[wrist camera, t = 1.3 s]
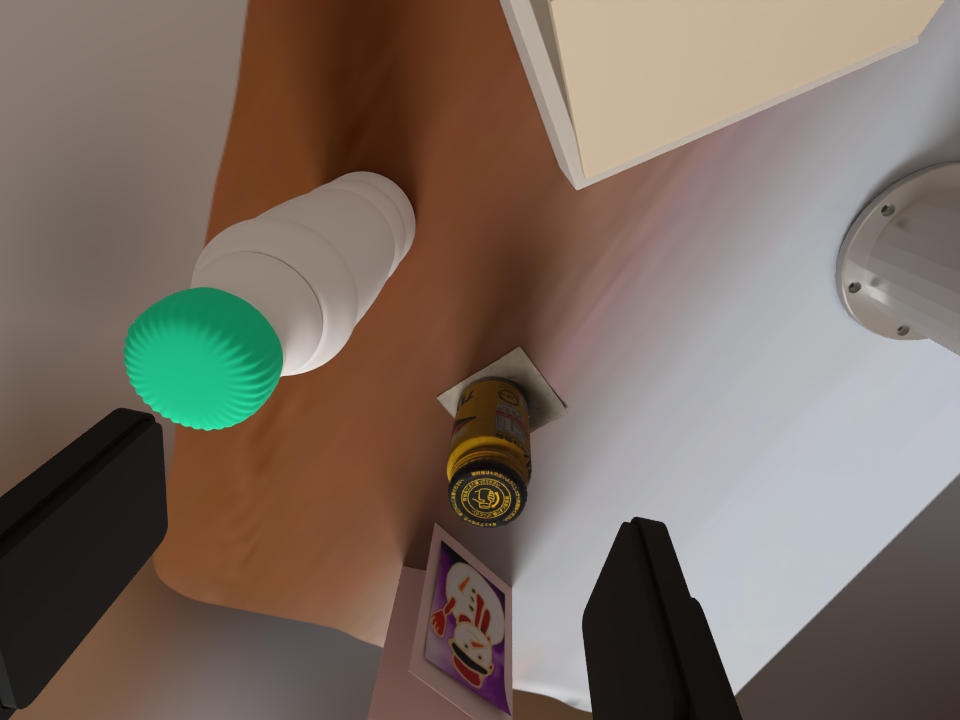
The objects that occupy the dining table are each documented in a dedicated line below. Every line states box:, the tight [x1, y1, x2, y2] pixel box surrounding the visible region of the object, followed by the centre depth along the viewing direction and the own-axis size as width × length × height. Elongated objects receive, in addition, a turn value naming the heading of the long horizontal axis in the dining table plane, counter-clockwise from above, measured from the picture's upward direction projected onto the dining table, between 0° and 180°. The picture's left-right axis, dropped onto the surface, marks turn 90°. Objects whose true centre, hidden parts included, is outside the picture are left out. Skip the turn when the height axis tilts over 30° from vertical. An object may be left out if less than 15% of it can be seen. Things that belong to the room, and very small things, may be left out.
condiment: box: [437, 346, 567, 528], centre depth 41 cm, size 7×8×12 cm
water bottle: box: [124, 171, 415, 430], centre depth 28 cm, size 7×7×25 cm
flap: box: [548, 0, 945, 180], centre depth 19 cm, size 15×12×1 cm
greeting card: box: [368, 522, 512, 720], centre depth 48 cm, size 11×7×15 cm, turn 42°
